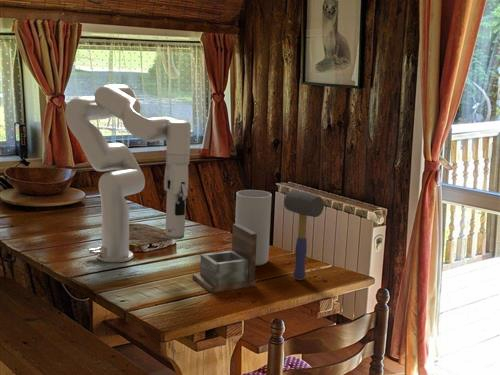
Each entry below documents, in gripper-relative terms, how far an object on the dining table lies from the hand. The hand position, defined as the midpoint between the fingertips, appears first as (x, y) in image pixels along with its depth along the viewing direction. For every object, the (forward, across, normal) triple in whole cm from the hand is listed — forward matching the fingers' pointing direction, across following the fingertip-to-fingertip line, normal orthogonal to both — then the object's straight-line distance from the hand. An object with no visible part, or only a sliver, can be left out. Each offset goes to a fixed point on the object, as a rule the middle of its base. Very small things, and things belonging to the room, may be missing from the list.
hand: (175, 211), depth 215 cm
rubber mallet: (+21, +20, +38) cm, 47 cm away
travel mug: (+9, 0, 0) cm, 9 cm away
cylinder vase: (+22, -3, +32) cm, 38 cm away
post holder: (+21, +13, +12) cm, 28 cm away
